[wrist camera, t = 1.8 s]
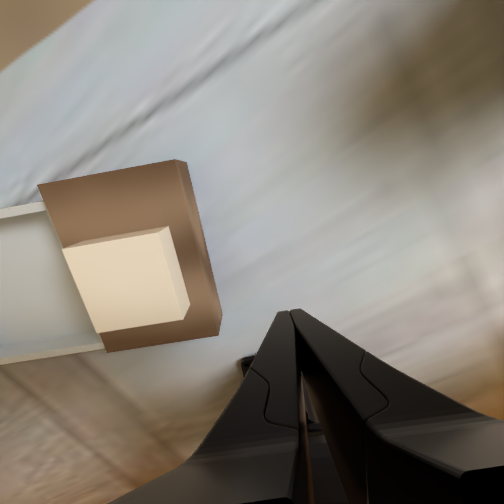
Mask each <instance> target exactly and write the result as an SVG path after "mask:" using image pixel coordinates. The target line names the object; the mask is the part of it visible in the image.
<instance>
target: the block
mask: <svg viewBox="0 0 504 504" xmlns="http://www.w3.org/2000/svg"><path fill="white" fill-rule="evenodd" d="M61 250H62V252H63V254H64V257H65V259H66V261H67V264H68V266H69V269H70V271H71V273H72V276H73V278H74V281H75V283H76V285H77V288H78V290H79V292H80V295H81V297H82V300H83V302H84V304H85V307H86V309H87V311H88V314H89V316H90V319H91V321H92V323H93V326H94V328H95V331H96V333H101V332H108V331H114V330H120V329H127V328H133V327H139V326H146V325H152V324H158V323H165V322H171V321H177V320H183V319H184V317H185V315H186V313H187V310H188V308H189V306H190V302H189V298H188V295H187V291H186V287H185V284H184V280H183V277H182V273H181V269H180V266H179V262H178V258H177V255H176V251H175V248H174V244H173V240H172V237H171V233H170V230H169V226H166V227H160V228H154V229H149V230H143V231H137V232H131V233H126V234H120V235H114V236H108V237H103V238H97V239H91V240H86V241H82V242H79V243H76V244H74V245H71V246H68V247H66V248H63V249H61Z"/></svg>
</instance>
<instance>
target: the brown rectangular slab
mask: <svg viewBox="0 0 504 504" xmlns="http://www.w3.org/2000/svg"><path fill="white" fill-rule="evenodd" d="M37 186H38V188H39V190H40V193H41V195H42V198H43V200H44V202H45V205H46V207H47V210H48V212H49V214H50V217H51V219H52V222H53V224H54V227H55V229H56V231H57V234H58V236H59V239H60V241H61V243H62V246H63V248H66V247H68V246H71V245H74V244H76V243H79V242H82V241H86V240H91V239H97V238H103V237H108V236H114V235H120V234H126V233H131V232H137V231H143V230H149V229H154V228H160V227H166V226H169V230H170V233H171V237H172V240H173V244H174V248H175V251H176V255H177V258H178V262H179V266H180V269H181V273H182V277H183V280H184V284H185V287H186V291H187V295H188V298H189V302H190V306H189V308H188V310H187V313H186V315H185V317H184V319H183V320H177V321H171V322H165V323H158V324H152V325H146V326H139V327H133V328H127V329H120V330H114V331H108V332H101V333H99V335H100V337H101V339H102V342H103V344H104V347H105V349H106V351H107V353H108V352H115V351H121V350H128V349H134V348H141V347H147V346H154V345H160V344H167V343H173V342H180V341H186V340H193V339H199V338H205V337H212V336H218V335H219V330H220V325H221V320H222V315H223V314H222V310H221V306H220V302H219V298H218V293H217V289H216V285H215V281H214V276H213V272H212V268H211V264H210V259H209V255H208V251H207V247H206V242H205V238H204V234H203V230H202V226H201V221H200V217H199V213H198V209H197V204H196V200H195V196H194V192H193V187H192V183H191V179H190V175H189V170H188V166H187V162H183V161H179V160H175V159H174V160H169V161H163V162H158V163H152V164H147V165H142V166H136V167H131V168H125V169H120V170H115V171H109V172H104V173H98V174H93V175H88V176H82V177H77V178H72V179H66V180H61V181H55V182H50V183H45V184H39V185H37Z"/></svg>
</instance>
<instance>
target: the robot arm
mask: <svg viewBox="0 0 504 504" xmlns="http://www.w3.org/2000/svg"><path fill="white" fill-rule="evenodd" d="M245 363H248V364H245ZM241 367H242V371H243V375H244V379H243V381H242V383H241V385H240V386H239V388H238V390H237V392H236V393H235V395H234V396H233V398H232V399H231V401H230V402H229V404H228V405H227V407H226V408H225V410H224V411H223V413H222V414H221V416H220V417H219V419H218V420H217V421H216V423H215V424H214V426H213V427H212V429H211V430H210V432H209V433H208V434H207V436H206V437H205V439H204V440H203V442H202V443H201V444H200V446H199V447H198V449H197V450H196V451H195V452H194V453H193V454H192V456H191V457H190V458H189V459H187V460H186V461H185V462H184V463H183V464H181V465H180V466H179V467H177V468H175V469H173V470H171V471H169V472H167V473H166V474H164V475H162V476H160V477H158V478H156V479H154V480H152V481H150V482H148V483H146V484H144V485H142V486H140V487H139V488H137V489H135V490H133V491H131V492H129V493H127V494H125V495H123V496H121V497H119V498H117V499H115V500H113V501H111V502H110V503H108V504H504V420H500V419H496V418H493V417H490V416H487V415H484V414H482V413H479V412H477V411H475V410H473V409H471V408H469V407H467V406H465V405H463V404H461V403H459V402H457V401H455V400H453V399H451V398H450V397H448V396H446V395H444V394H442V393H440V392H438V391H436V390H434V389H432V388H431V387H429V386H427V385H425V384H423V383H421V382H419V381H417V380H415V379H413V378H412V377H410V376H408V375H406V374H404V373H402V372H401V371H399V370H397V369H395V368H393V367H392V366H390V365H388V364H387V363H385V362H383V361H382V360H380V359H378V358H377V357H375V356H374V355H372V354H371V353H369V352H366V351H365V350H364V349H363V348H361V347H360V346H358V345H356V344H355V343H353V342H352V341H350V340H349V339H347V338H345V337H344V336H342V335H341V334H339V333H338V332H336V331H335V330H333V329H331V328H330V327H328V326H327V325H325V324H324V323H322V322H321V321H319V320H317V319H316V318H314V317H313V316H311V315H310V314H308V313H307V312H305V311H303V310H302V309H293V310H290V311H280V312H278V313H277V315H276V317H275V319H274V321H273V322H272V324H271V326H270V328H269V330H268V332H267V334H266V336H265V338H264V340H263V342H262V344H261V346H260V348H259V350H258V352H257V354H256V356H253V357H246V358H243V359H242V361H241Z"/></svg>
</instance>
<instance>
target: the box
mask: <svg viewBox="0 0 504 504" xmlns="http://www.w3.org/2000/svg"><path fill="white" fill-rule="evenodd" d="M61 249H63V246H62V243H61V241H60V239H59V236H58V234H57V231H56V229H55V227H54V224H53V222H52V219H51V217H50V214H49V212H48V210H47V207H46V205H45V202H44V201H42V202H36V203H31V204H25V205H20V206H14V207H9V208H3V209H0V365H3V364H9V363H16V362H22V361H28V360H35V359H41V358H48V357H54V356H61V355H67V354H73V353H80V352H86V351H93V350H99V349H105V347H104V344H103V342H102V339H101V337H100V335H99V333H96V331H95V328H94V326H93V323H92V321H91V319H90V316H89V314H88V311H87V309H86V307H85V304H84V302H83V300H82V297H81V295H80V292H79V290H78V288H77V285H76V283H75V281H74V278H73V276H72V273H71V271H70V269H69V266H68V264H67V261H66V259H65V257H64V254H63V252H62V250H61Z"/></svg>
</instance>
